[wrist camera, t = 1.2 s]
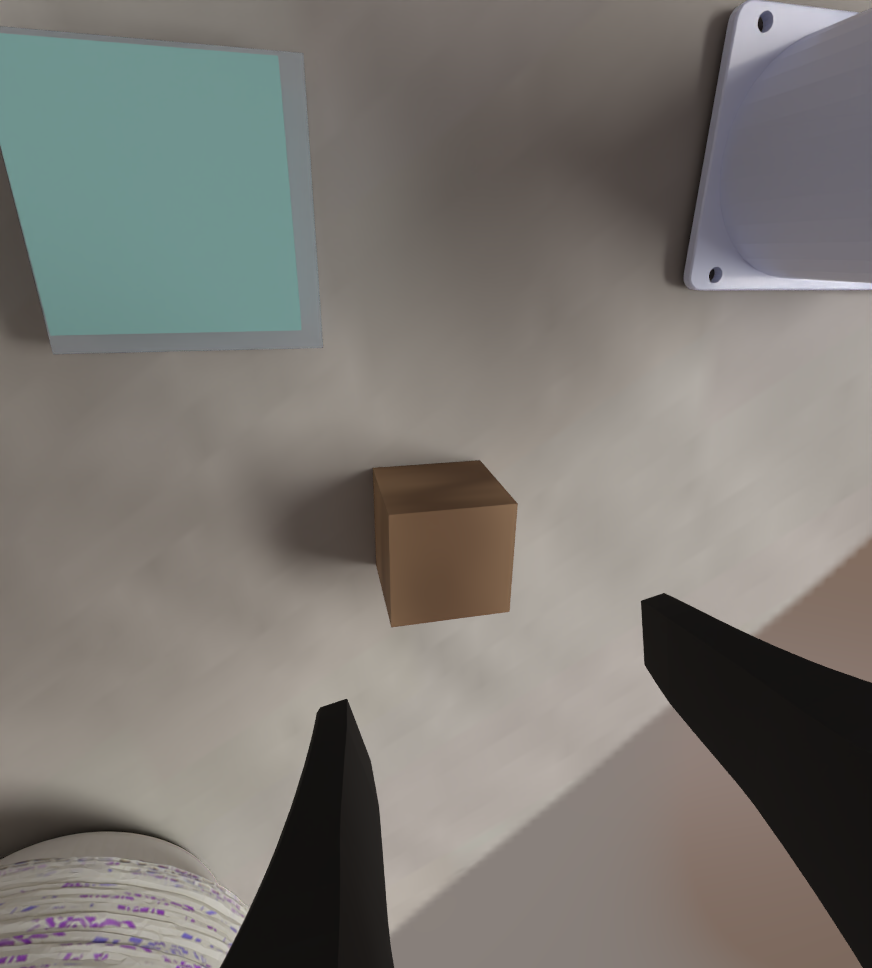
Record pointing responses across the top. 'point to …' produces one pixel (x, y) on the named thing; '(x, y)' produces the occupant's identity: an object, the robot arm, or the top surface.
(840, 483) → the top surface
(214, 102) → the tower mid
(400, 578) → the walnut block
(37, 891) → the paper bowls
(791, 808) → the robot arm
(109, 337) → the tower base
